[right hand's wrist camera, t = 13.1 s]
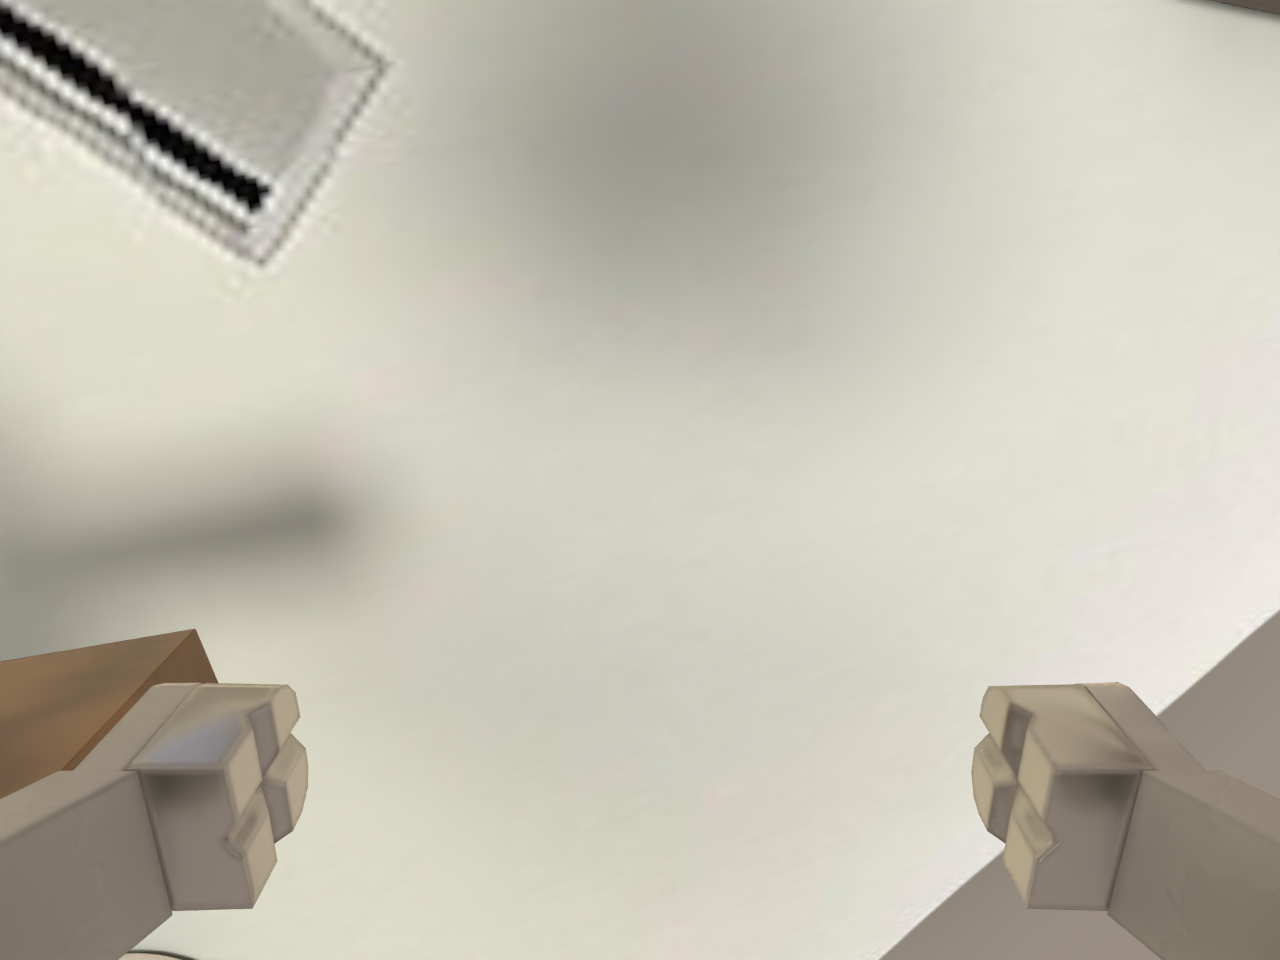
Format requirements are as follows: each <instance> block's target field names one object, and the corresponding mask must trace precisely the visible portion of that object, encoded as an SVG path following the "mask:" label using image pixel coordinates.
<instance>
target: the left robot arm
mask: <svg viewBox="0 0 1280 960" xmlns="http://www.w3.org/2000/svg"><path fill="white" fill-rule="evenodd" d="M118 960H181V959H177V958H174V957H169V956H164V955H157V954H146V953H130V954H125V955H123V956H122V957H121V958H120V959H118Z"/></svg>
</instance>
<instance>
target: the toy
mask: <svg viewBox="0 0 1280 960" xmlns="http://www.w3.org/2000/svg"><path fill="white" fill-rule="evenodd" d="M1213 1H1217V2H1222V3H1227V4H1232V5H1237V6H1242V7H1246V8H1251V9H1256V10H1261V11H1266V12H1271V13H1276V14H1280V0H1213Z"/></svg>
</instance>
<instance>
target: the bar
mask: <svg viewBox="0 0 1280 960" xmlns="http://www.w3.org/2000/svg"><path fill="white" fill-rule="evenodd" d="M162 683H201V684H205V683H218V681H217V679H216V676H215V674H214V672H213V669H212V667H211V664H210V662H209V660H208V657H207V655H206V653H205V650H204V648H203V645H202V643H201V641H200V638H199V636H198V634H197V631H196V629H190V630H185V631H179V632H173V633H167V634H161V635H155V636H149V637H143V638H137V639H131V640H125V641H120V642H114V643H108V644H102V645H96V646H90V647H84V648H78V649H72V650H66V651H60V652H55V653H49V654H43V655H37V656H31V657H25V658H19V659H13V660H7V661H1V662H0V799H2V798H4V797H6V796H8V795H10V794H12V793H14V792H16V791H18V790H20V789H22V788H24V787H26V786H28V785H31V784H33V783H35V782H37V781H39V780H41V779H43V778H45V777H47V776H49V775H51V774H53V773H55V772H57V771H73V770H74V769H75V768H76V767H77V766H78V765H79V764H80V763H81V762H82V761H83V760H84V759H85V757H86V756H87V755H88V754H89V753H90V752H91V751H92V750H93V749H94V748H95V747H96V746H97V745H98V744H99V742H100V741H101V740H102V739H103V738H104V737H105V736H106V735H107V734H108V733H109V732H110V731H111V730H112V728H113V727H114V726H115V725H116V724H117V723H118V722H119V721H120V720H121V719H122V718H123V717H124V716H125V714H126V713H127V712H128V711H129V710H130V709H131V708H132V707H133V706H134V705H135V704H136V703H137V702H138V701H139V699H140V698H141V697H142V696H143V695H144V694H145V693H146V692H147V691H148V690H149V689H150V688H151V687H152V686H155V685H158V684H162Z"/></svg>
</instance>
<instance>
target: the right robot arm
mask: <svg viewBox="0 0 1280 960" xmlns="http://www.w3.org/2000/svg"><path fill="white" fill-rule="evenodd" d="M299 718H300V712H299V707H298V702H297V697H296V693H295V691H294V690H293V689H292V688H291V687H290V686H288V685H273V684H225V683H205V684H201V683H162V684H158V685H155V686H152V687H151V688H150V689H149V690H148V691H147V692H146V693H145V694H144V695H143V696H142V697H141V698H140V699H139V701H138V702H137V703H136V704H135V705H134V706H133V707H132V708H131V709H130V710H129V711H128V712H127V713H126V714H125V716H124V717H123V718H122V719H121V720H120V721H119V722H118V723H117V724H116V725H115V726H114V727H113V728H112V730H111V731H110V732H109V733H108V734H107V735H106V736H105V737H104V738H103V739H102V740H101V741H100V742H99V744H98V745H97V746H96V747H95V748H94V749H93V750H92V751H91V752H90V753H89V754H88V755H87V756H86V757H85V759H84V760H83V761H82V762H81V763H80V764H79V765H78V766H77V767H76V768H75V769H74V770H73V771H57V772H55V773H53V774H51V775H49V776H47V777H45V778H43V779H41V780H39V781H37V782H35V783H33V784H31V785H28V786H26V787H24V788H22V789H20V790H18V791H16V792H14V793H12V794H10V795H8V796H6V797H4V798H2V799H0V960H118V959H120V958H121V957H122V956H123V955H125V954H126V953H127V952H128V951H129V950H131V949H132V948H133V947H134V946H135V945H137V944H138V943H139V942H140V941H142V940H143V939H144V938H145V937H146V936H148V935H149V934H150V933H151V932H152V931H154V930H155V929H156V928H157V927H159V926H160V925H161V924H162V923H163V922H165V921H166V920H167V919H168V918H169V917H171V916H172V911H185V910H220V909H253V907H254V905H255V903H256V901H257V899H258V897H259V895H260V893H261V891H262V889H263V887H264V886H265V884H266V882H267V880H268V878H269V876H270V874H271V872H272V870H273V868H274V866H275V864H276V862H277V856H276V850H275V845H274V844H275V843H276V842H277V841H279V840H280V839H282V838H283V837H285V836H286V835H287V834H289V833H290V832H292V831H293V829H294V827H295V825H296V823H297V821H298V819H299V817H300V815H301V813H302V810H303V806H304V801H305V797H306V792H307V788H308V762H307V755H306V748H305V747H304V746H303V745H302V744H301V743H300V742H299V741H298V740H297V739H296V738H295V737H294V736H293V735H292V734H291V731H292V729H293V728H294V726H295V724H296V723H297V721H298V719H299ZM980 718H981V719H982V721H983V723H984V724H985V726H986V728H987V729H988V731H989V734H988V735H987V736H986V737H985V738H984V739H983V740H982V741H981V742H980V743H979V744H978V745H977V746H976V747H975V748H974V756H973V764H972V772H971V773H972V783H973V794H974V799H975V802H976V806H977V809H978V812H979V815H980V817H981V819H982V821H983V823H984V825H985V827H986V829H987V831H988V832H990V833H991V834H993V835H994V836H995V837H997V838H998V839H1000V840H1001V841H1003V842H1004V843H1005V844H1006V845H1005V850H1004V856H1003V862H1004V864H1005V866H1006V868H1007V870H1008V872H1009V874H1010V876H1011V878H1012V880H1013V882H1014V883H1015V885H1016V887H1017V889H1018V891H1019V893H1020V895H1021V897H1022V899H1023V901H1024V902H1025V904H1026V906H1027V908H1028V909H1059V910H1095V911H1108V915H1109V916H1110V917H1111V918H1112V919H1113V920H1115V921H1116V922H1117V923H1118V924H1119V925H1121V926H1122V927H1123V928H1124V929H1126V930H1127V931H1128V932H1129V933H1131V934H1132V935H1133V936H1134V937H1135V938H1136V939H1138V940H1139V941H1140V942H1141V943H1142V944H1144V945H1145V946H1146V947H1147V948H1149V949H1150V950H1151V951H1152V952H1153V953H1155V954H1156V955H1157V956H1158V957H1159V958H1161V959H1162V960H1280V799H1278V798H1276V797H1274V796H1272V795H1270V794H1268V793H1266V792H1264V791H1262V790H1260V789H1258V788H1256V787H1254V786H1251V785H1249V784H1247V783H1245V782H1243V781H1241V780H1239V779H1237V778H1235V777H1233V776H1231V775H1229V774H1227V773H1225V772H1223V771H1207V770H1206V769H1205V768H1204V767H1203V766H1202V765H1201V764H1200V763H1199V762H1198V761H1197V760H1196V759H1195V757H1194V756H1193V755H1192V754H1191V753H1190V752H1189V751H1188V750H1187V749H1186V748H1185V747H1184V746H1183V745H1182V743H1181V742H1180V741H1179V740H1178V739H1177V738H1176V737H1175V736H1174V735H1173V734H1172V733H1171V732H1170V731H1169V729H1168V728H1167V727H1166V726H1165V725H1164V724H1163V723H1162V722H1161V721H1160V720H1159V719H1158V718H1157V717H1156V715H1155V714H1154V713H1153V712H1152V711H1151V710H1150V709H1149V708H1148V707H1147V706H1146V705H1145V704H1144V703H1143V701H1142V700H1141V699H1140V698H1139V697H1138V696H1137V695H1136V694H1135V693H1134V692H1133V691H1132V690H1131V689H1130V687H1128V686H1125V685H1123V684H1121V683H1119V682H1111V683H1083V684H1071V685H1019V686H989V687H988V689H987V691H986V693H985V695H984V697H983V700H982V706H981V712H980Z"/></svg>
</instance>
